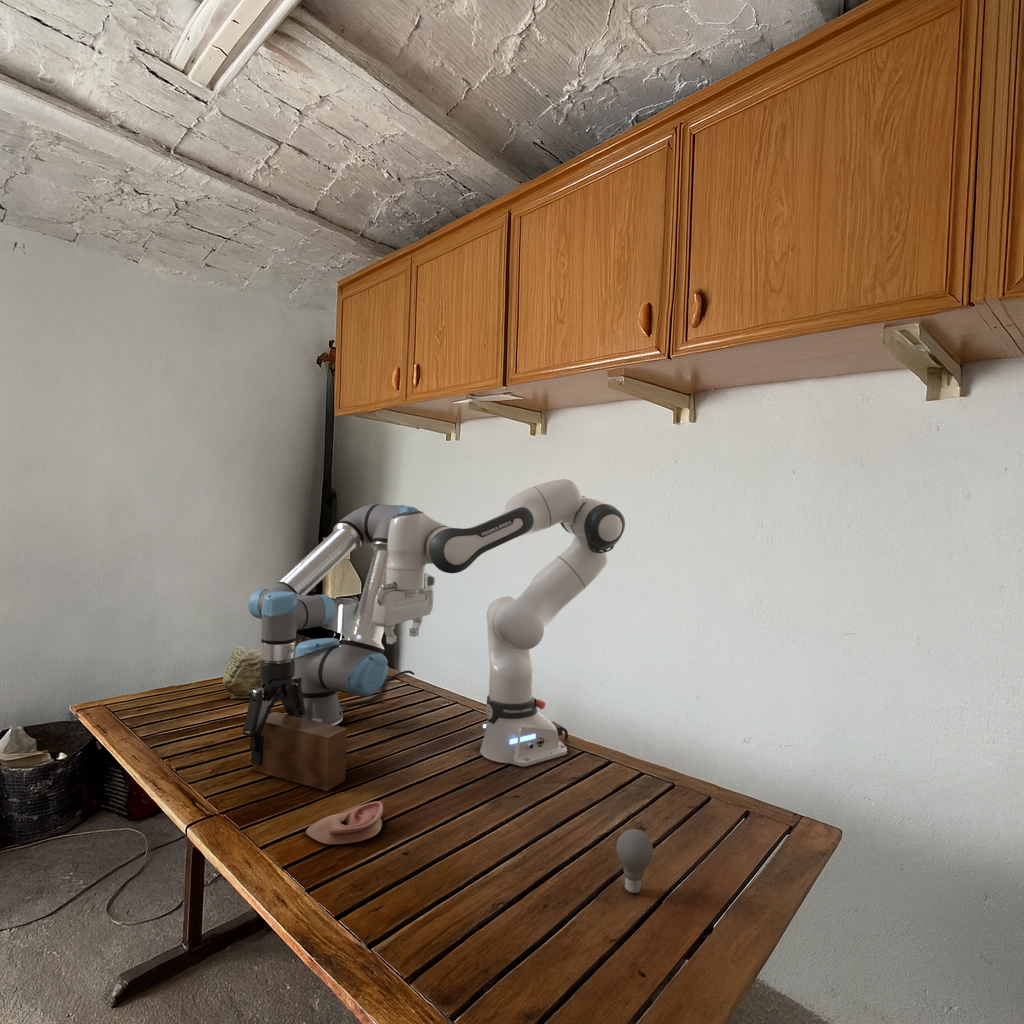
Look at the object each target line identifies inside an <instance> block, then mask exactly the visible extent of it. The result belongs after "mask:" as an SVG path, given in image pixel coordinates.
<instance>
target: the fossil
mask: <svg viewBox="0 0 1024 1024" xmlns="http://www.w3.org/2000/svg"><path fill="white" fill-rule="evenodd" d="M260 656H261V647H258V648H251V647H247V646H246V647H245V646H238V647H237V648H236V649H235V650H233V651H232V653H231V656H230V657H229V659H228V660H227V663H226V666H225V668H224V671H223V675H222V676H223V677H222V685H223V687H224V688H225V690H226V691H228V693H229V698H230V699H250V691H251V690H252V689H255V690H257V689H259V688H261V685H262V678H261V677H260V663H261V661H262V659H261V658H260Z"/></svg>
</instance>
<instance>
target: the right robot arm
mask: <svg viewBox="0 0 1024 1024" xmlns="http://www.w3.org/2000/svg"><path fill="white" fill-rule="evenodd" d="M556 525H560V526H561V528H562V529H564V530H565V531H566V532H567V533H568V534H571V535H572V536H573V539H572V541H571V543H570V545H569V546H568V547H567V548H566V549H565V550H564V551H562V552H561V553H560V554H559V555H557V556H556V557H555V558H554V559H552V561H551V562H549V563H548V564H547V565H546V566H544V567H543V568H542V569H541V570H540V571H539V572H538V573H536V574H535V575H534V576H533V577H532V580H531V581H530V583H529V585H528V586H527V587H526V588H525V589H524V591H523V592H522V593H521V594H520V595H519V596H518V597H513V596H501V597H497V598H495V599H494V600H493V601H492V602H491V603H490V604H489V605H488V607H487V610H486V623H487V624H486V625H487V627H486V628H487V645H488V647H487V648H488V656H489V679H488V680H489V681H488V695H487V697H486V707H485V716H486V718H485V719H486V722H485V723H484V724H482V728H483V729H485V730H484V733H483V734H484V735H483V739H482V742H481V746H480V748H479V753H480V754H481V756H483V757H484V758H485V759H487V760H490V761H492V762H496V763H500V764H501V763H502V764H509V765H514V766H518V767H529V766H532V765H535V764H539V763H542V762H546V761H549V760H553V759H556V758H559V757H563V756H566V755H568V747H567V746H566V745H565V743H563V742H562V741H561V740H559V737H560V736H561V737H563V732H564V740H565V741H568V740H569V732H568V730H567V729H566V727H563V726H562V725H561V724H559V723H557V722H555V721H550V720H549V719H548V718H547V717H546V716H544V715H543V714H542V713H541V712H539V711H538V709H539V710H544V709H545V707H546V702H545V701H544V700H542V699H538V698H536V697H534V696H533V681H534V665H533V661H532V655H531V649H534V648H535V647H536V646H538V645H539V644H540V643H541V642H542V639H543V637H544V635H545V632H546V631H547V629H548V628H549V627H550V625H551V624H552V623H553V622H554V620H555V619H556V618H557V616H558V615H559V614H560V613H561V612H562V611H563V609H565V607H567V606H568V605H569V604H570V603H571V602H572V601H573V600H575V599H576V598H577V597H578V596H579V595H580V594H582V592H584V591H585V590H586V589H587V588H588V587H589V586H591V584H593V582H595V580H596V579H597V578H598V577H599V576H600V574H602V572H603V571H604V570H605V569H606V567H608V562H609V555H608V553H609V552H610V551H612V550H613V549H614V548H615V545H617V544H618V542H619V541H620V540H621V538H622V536H623V534H624V532H625V529H626V519H625V517H624V515H623V514H622V512H621V511H620V510H619V509H618V508H617V507H615V506H614V505H612V504H610V503H607V502H604V501H602V500H600V499H598V498H591V497H587V496H586V495H585V496H584V495H582V493H581V491H580V489H579V486H577V484H576V483H575V482H574V481H572V480H571V479H567V478H562V479H555V480H551V481H546V482H543V483H540V484H537V485H534V486H531V487H528V488H526V489H524V490H522V491H520V492H518V493H517V494H515V495H513V496H512V497H510V498H509V499H508V500H507V502H506V504H505V508H504V511H503V512H502V513H501V514H499V515H497V516H495V517H493V518H490V519H488V520H486V521H483V522H481V523H478V524H477V525H473V526H472V527H466V528H459V527H452V526H451V527H450V526H448V525H445V524H444V523H440V522H438V521H436V520H435V519H433V518H431V517H430V516H428V515H426V514H425V512H424V511H421V510H419V511H410V512H403V513H399V514H397V515H395V516H394V517H393V518H392V519H391V522H390V526H389V532H388V545H387V549H388V554H389V560H388V563H387V570H386V584H384V585H382V586H381V588H380V589H379V590H378V593H377V595H376V598H375V602H374V609H373V623H374V625H375V626H381V627H384V628H383V629H384V632H383V633H384V634H385V638H386V640H385V641H386V644H387V645H394V644H396V643H397V637H398V636H397V635H395V632H394V630H395V628H396V625H399V624H403V623H405V622H408V621H412V623H411V627H410V628H409V633H408V635H409V637H413V638H414V637H418V636H419V634H420V628H421V626H422V622H423V617H426V616H429V615H431V613H432V612H433V608H434V595H435V591H434V586H435V584H436V577H435V576H433V575H431V574H429V573H427V572H426V565H429V564H431V565H434V566H435V568H436V569H438V570H439V571H440V572H443V573H445V574H446V573H447V574H457V573H461V572H463V571H465V570H467V569H468V568H469V567H470V566H471V565H472V564H473V563H474V562H475V561H476V560H477V559H478V558H479V557H480V556H482V555H483V554H484V553H487V552H488V551H491V550H492V549H494V548H497V547H499V546H501V545H504V544H505V543H508V542H510V541H512V540H514V539H517V538H521V537H525V536H529V535H533V534H537V533H539V532H542V531H545V530H547V529H550V528H552V527H554V526H555V527H556Z"/></svg>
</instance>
